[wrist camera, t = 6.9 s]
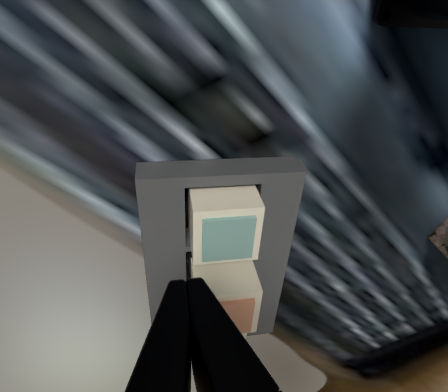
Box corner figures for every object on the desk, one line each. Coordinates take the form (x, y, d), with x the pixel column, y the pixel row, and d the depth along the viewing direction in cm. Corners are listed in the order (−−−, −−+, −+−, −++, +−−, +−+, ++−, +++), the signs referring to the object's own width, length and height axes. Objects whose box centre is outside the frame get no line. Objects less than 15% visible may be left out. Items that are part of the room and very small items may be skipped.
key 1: (251, 176, 21) (266, 210, 18) (245, 225, 24) (258, 262, 21) (187, 179, 21) (193, 215, 18) (188, 230, 23) (193, 269, 20)
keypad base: (295, 156, 22) (306, 171, 20) (266, 313, 31) (272, 332, 29) (136, 162, 20) (134, 179, 19) (154, 326, 29) (154, 347, 27)
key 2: (250, 253, 23) (264, 295, 20) (245, 292, 25) (257, 335, 22) (190, 258, 22) (196, 302, 19) (191, 298, 24) (196, 343, 21)
